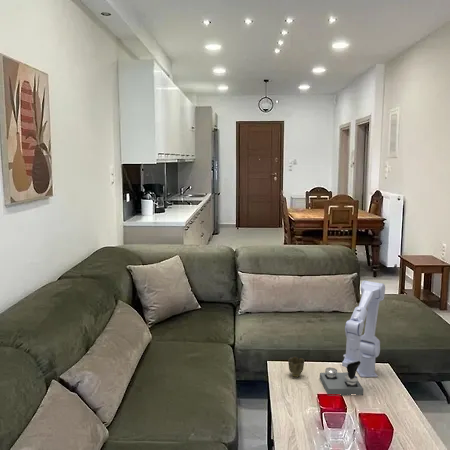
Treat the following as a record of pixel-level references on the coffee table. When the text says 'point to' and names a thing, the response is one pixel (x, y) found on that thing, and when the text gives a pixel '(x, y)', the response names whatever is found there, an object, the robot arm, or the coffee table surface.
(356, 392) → the knob board
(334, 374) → the knob
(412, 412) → the coffee table surface
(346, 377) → the knob
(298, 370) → the cup
